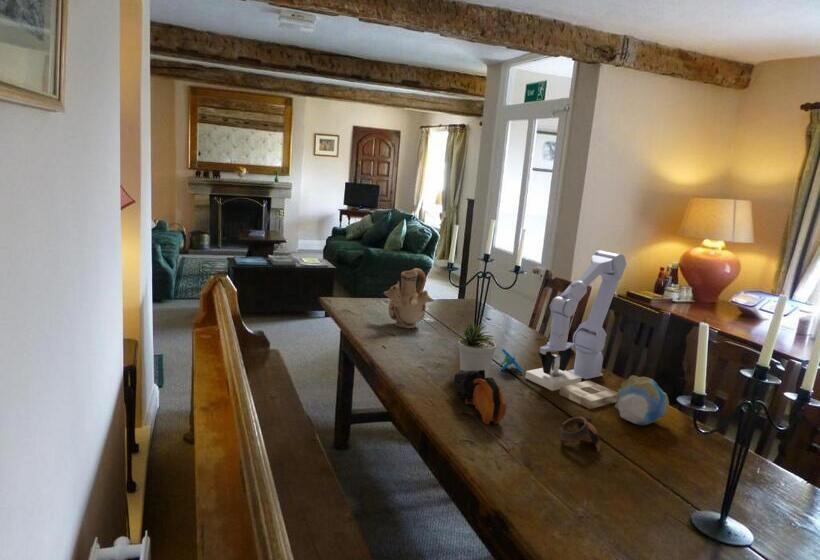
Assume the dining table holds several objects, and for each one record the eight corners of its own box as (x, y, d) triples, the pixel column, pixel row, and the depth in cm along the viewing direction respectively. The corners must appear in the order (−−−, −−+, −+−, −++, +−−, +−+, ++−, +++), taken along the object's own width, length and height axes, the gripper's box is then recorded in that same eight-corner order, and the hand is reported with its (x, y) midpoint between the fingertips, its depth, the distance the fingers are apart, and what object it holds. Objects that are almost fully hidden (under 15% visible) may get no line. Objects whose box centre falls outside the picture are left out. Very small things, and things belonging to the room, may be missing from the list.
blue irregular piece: (527, 371, 191) (508, 350, 190) (514, 383, 191) (495, 361, 190) (519, 365, 202) (501, 344, 201) (506, 375, 202) (488, 355, 201)
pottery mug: (601, 460, 138) (588, 433, 137) (565, 464, 143) (552, 438, 142) (607, 430, 148) (595, 404, 147) (573, 435, 153) (561, 410, 152)
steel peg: (552, 378, 191) (555, 353, 189) (559, 382, 188) (562, 356, 186) (546, 380, 189) (549, 354, 187) (553, 383, 187) (556, 357, 185)
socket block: (553, 372, 197) (554, 365, 197) (580, 384, 188) (581, 377, 187) (525, 377, 190) (526, 371, 189) (552, 390, 180) (553, 383, 179)
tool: (475, 419, 171) (472, 370, 174) (512, 424, 150) (508, 367, 153) (450, 421, 168) (448, 370, 171) (484, 426, 147) (481, 368, 150)
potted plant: (454, 366, 195) (459, 311, 191) (493, 372, 193) (499, 316, 189) (449, 379, 183) (454, 320, 179) (491, 385, 180) (498, 325, 177)
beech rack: (587, 387, 185) (588, 380, 185) (618, 401, 176) (620, 393, 175) (559, 394, 177) (560, 386, 177) (590, 409, 168) (591, 401, 167)
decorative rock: (635, 376, 153) (681, 377, 157) (600, 373, 168) (642, 374, 172) (636, 428, 151) (682, 428, 155) (601, 420, 166) (643, 419, 170)
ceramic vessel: (381, 319, 247) (385, 264, 242) (422, 320, 252) (427, 265, 247) (388, 332, 230) (393, 272, 225) (433, 332, 234) (438, 274, 229)
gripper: (564, 327, 193) (559, 364, 195) (535, 331, 184) (530, 370, 187) (581, 333, 187) (575, 371, 190) (551, 337, 179) (546, 377, 181)
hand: (554, 371), depth 188 cm, fingers open, 7 cm apart
